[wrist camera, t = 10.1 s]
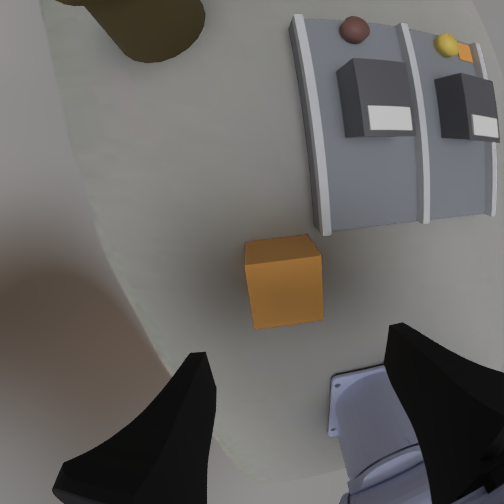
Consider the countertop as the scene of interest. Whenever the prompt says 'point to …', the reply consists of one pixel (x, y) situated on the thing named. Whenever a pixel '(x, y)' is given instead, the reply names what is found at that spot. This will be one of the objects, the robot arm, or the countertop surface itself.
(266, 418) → the countertop surface
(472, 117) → the toggle
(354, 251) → the countertop surface
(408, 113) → the toggle
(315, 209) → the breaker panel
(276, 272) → the block
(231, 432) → the countertop surface
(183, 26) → the cork
